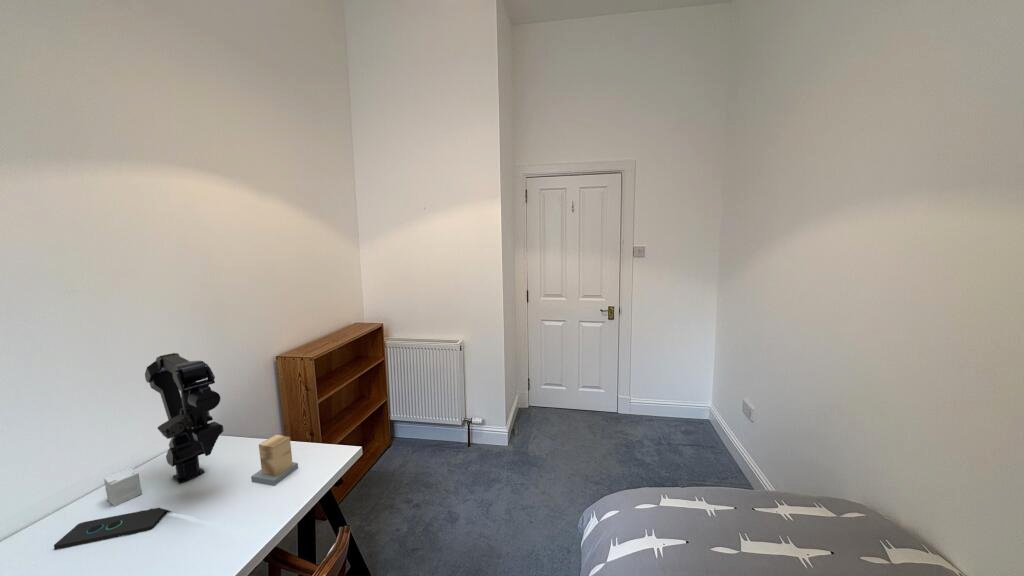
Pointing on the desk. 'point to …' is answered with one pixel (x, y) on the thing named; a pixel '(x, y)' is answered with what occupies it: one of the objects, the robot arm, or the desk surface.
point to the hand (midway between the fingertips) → (201, 451)
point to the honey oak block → (275, 455)
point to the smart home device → (111, 527)
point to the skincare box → (122, 486)
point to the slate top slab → (273, 480)
